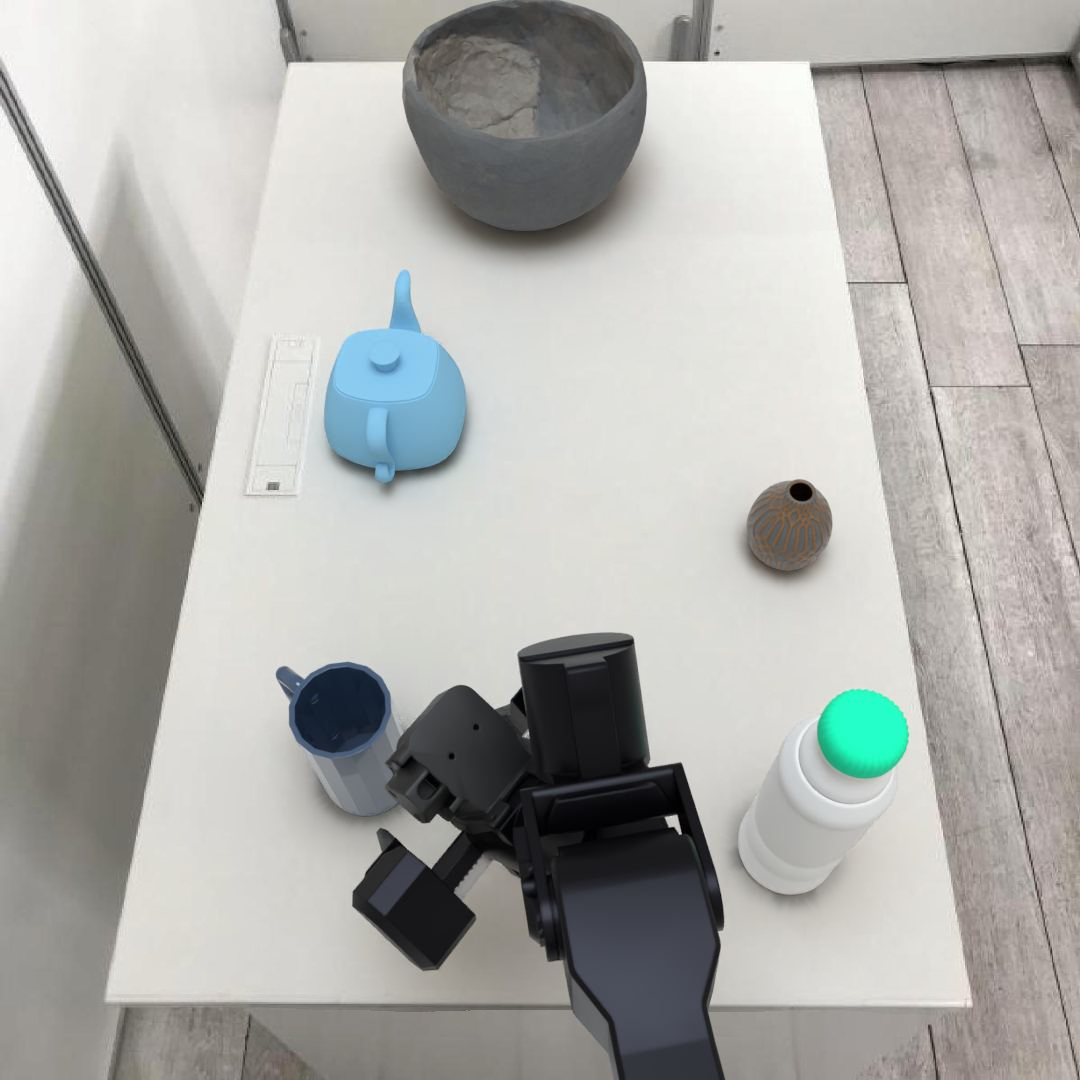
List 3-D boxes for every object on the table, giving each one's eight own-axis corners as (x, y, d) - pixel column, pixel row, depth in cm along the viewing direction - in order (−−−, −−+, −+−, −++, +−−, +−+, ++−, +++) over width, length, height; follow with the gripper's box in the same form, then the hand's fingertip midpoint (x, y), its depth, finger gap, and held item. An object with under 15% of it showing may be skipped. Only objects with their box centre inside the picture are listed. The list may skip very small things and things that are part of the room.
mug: (431, 764, 82) (411, 699, 71) (372, 834, 80) (342, 778, 69) (337, 691, 86) (304, 618, 75) (277, 756, 83) (233, 690, 72)
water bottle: (822, 910, 76) (924, 806, 55) (726, 878, 78) (789, 764, 56) (840, 818, 80) (944, 685, 58) (748, 788, 81) (816, 648, 60)
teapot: (472, 268, 95) (445, 430, 86) (479, 348, 104) (456, 503, 95) (332, 260, 96) (291, 420, 86) (352, 341, 105) (316, 493, 96)
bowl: (426, 111, 123) (411, -15, 110) (639, 114, 122) (648, -12, 109) (403, 265, 110) (383, 144, 97) (640, 270, 109) (651, 148, 96)
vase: (733, 570, 91) (749, 516, 83) (749, 505, 94) (766, 447, 87) (814, 591, 90) (838, 537, 82) (827, 524, 93) (851, 466, 86)
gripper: (591, 595, 56) (449, 585, 69) (347, 883, 48) (239, 811, 61) (701, 736, 60) (547, 702, 73) (491, 1023, 52) (362, 927, 65)
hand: (431, 777), depth 68 cm, fingers open, 9 cm apart
